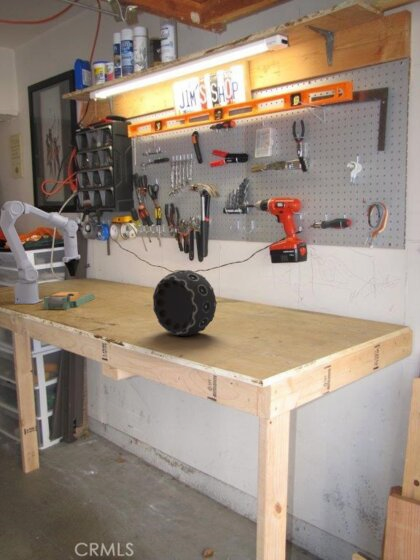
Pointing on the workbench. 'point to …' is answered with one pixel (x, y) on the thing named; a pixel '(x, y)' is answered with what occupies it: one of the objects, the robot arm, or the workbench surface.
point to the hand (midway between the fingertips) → (72, 276)
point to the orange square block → (64, 294)
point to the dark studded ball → (184, 303)
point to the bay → (66, 301)
